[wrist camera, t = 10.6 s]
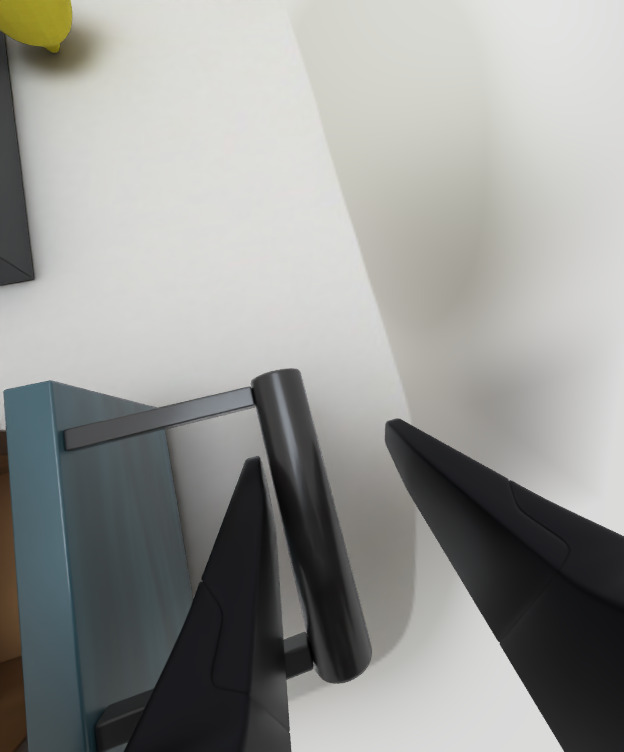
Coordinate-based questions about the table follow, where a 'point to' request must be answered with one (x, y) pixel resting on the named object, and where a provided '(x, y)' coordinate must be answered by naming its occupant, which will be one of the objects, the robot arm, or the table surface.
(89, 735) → the drawer
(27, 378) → the table surface
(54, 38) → the lemon
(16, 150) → the picture frame
